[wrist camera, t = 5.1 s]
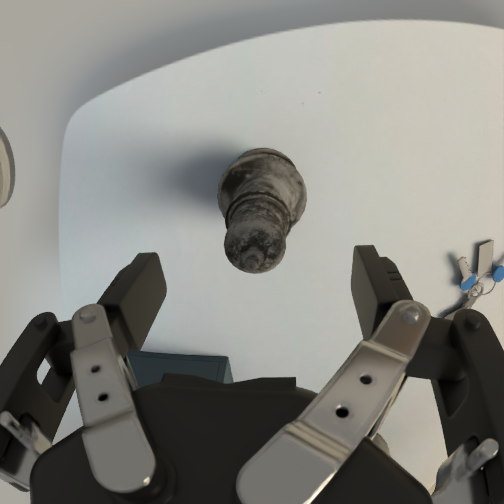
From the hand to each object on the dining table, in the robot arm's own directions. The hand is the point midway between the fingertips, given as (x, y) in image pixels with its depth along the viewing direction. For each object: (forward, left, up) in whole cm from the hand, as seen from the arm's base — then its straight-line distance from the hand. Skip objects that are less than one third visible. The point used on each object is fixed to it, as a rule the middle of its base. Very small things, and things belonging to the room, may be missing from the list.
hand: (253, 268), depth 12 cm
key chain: (+21, -10, -12) cm, 26 cm away
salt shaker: (0, 0, -13) cm, 13 cm away
